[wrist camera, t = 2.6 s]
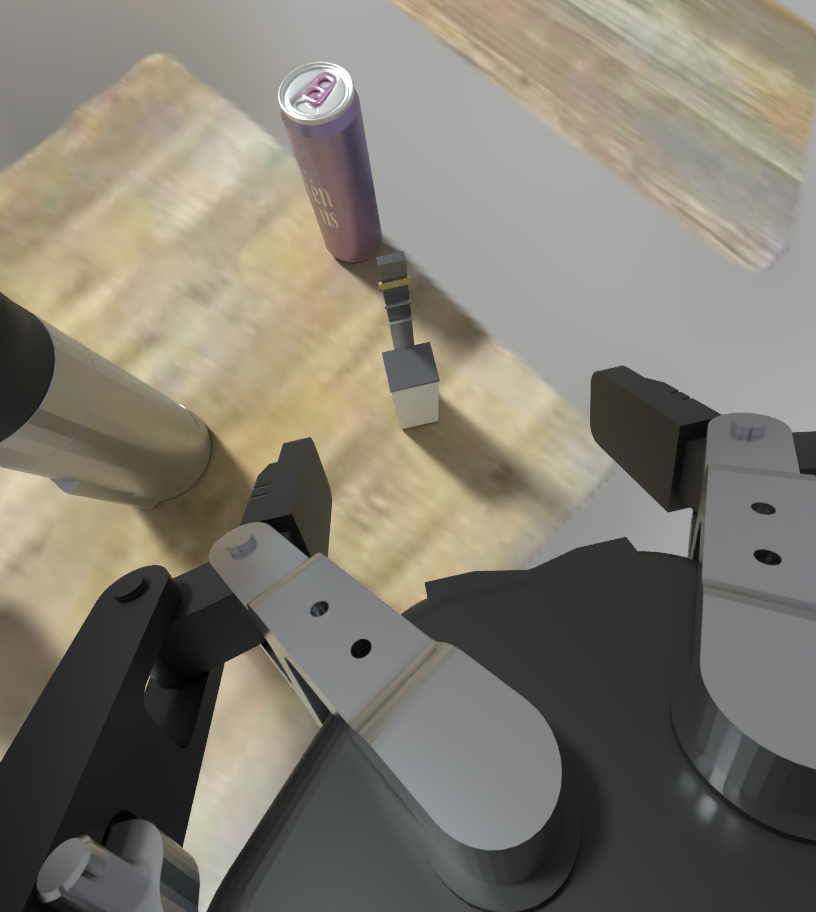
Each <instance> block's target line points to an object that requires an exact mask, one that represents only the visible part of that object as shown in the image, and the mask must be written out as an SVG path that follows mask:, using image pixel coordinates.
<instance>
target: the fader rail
mask: <svg viewBox="0 0 816 912" xmlns="http://www.w3.org/2000/svg"><path fill="white" fill-rule="evenodd" d="M376 259H377V264H378V269H379V274H380V279H381V282H379V283H378V284H379V289H380V291H382V290H383V294H384V299H385V304H386V305H384V306H385V309H387V314H388V319H389V321H388V325H390V329H391V335H392V340H393V345H394V350H396V349H400V348H405V347H409V346H413V345H414V338H413V328H412V320H413V316H411V309H410V303H412V302H411V299H409V290H408V284H411V276H410V275H409V276H407V270H406V261H405V256H404V252H403V251H401V252H396V253H392V254H388V255H383V256H379V257H376Z"/></svg>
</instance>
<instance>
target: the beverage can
mask: <svg viewBox="0 0 816 912" xmlns="http://www.w3.org/2000/svg"><path fill="white" fill-rule="evenodd" d="M278 100H279V104H280V107H281V117H282V121H283V124H284V127H285V129H286V132H287V135H288V138H289V141H290V144H291V147H292V150H293V152H294V155H295V158H296V161H297V164H298V167H299V170H300V172H301V175H302V178H303V181H304V184H305V187H306V190H307V193H308V195H309V198H310V201H311V204H312V207H313V210H314V213H315V215H316V218H317V221H318V224H319V227H320V230H321V233H322V236H323V238H324V241H325V244H326V247H327V249H328V250H329V252H330V253H331V254H332V255H333V256H335V257H336V258H338V259H340V260H342V261H346V262H359V261H362V260H365V259H367V258H368V257H370V256H371V255H372V254H373V253H374V252H375V251H376V249H377V248H378V246H379V244H380V241H381V236H382V233H381V227H380V221H379V215H378V209H377V203H376V197H375V191H374V186H373V179H372V173H371V167H370V161H369V155H368V150H367V143H366V137H365V131H364V125H363V120H362V114H361V107H360V101H359V96H358V94H357V92H356V90H355V87H354V82H353V80H352V77H351V76H350V74H349V73H348V72H347V71H346V70H345V69H344V68H342V67H341V66H338V65H336V64H333V63H329V62H313V63H309V64H305V65H303V66H300V67H299V68H297V69H295V70H293V71H292V72H291V73H289V74H288V75H287V76H286V77H285V79H284V80H283V82H282V83H281V85H280V88H279V92H278Z"/></svg>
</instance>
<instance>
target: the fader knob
mask: <svg viewBox="0 0 816 912" xmlns="http://www.w3.org/2000/svg"><path fill="white" fill-rule="evenodd" d="M382 355H383V360H384V364H385V369H386V373H387V378H388V382H389V387H390V391H391V392H392V396H393V400H394V404H395V407H396V411H397V415H398V419H399V422H400V426H401V429H405V428H410V427H414V426H418V425H423V424H427V423H432V422H436V421H438V388H439V376H438V372H437V368H436V364H435V360H434V356H433V353H432V349H431V345H430V342H427V343H422V344H418V345H413V346H409V347H405V348H400V349H396V350H392V351H387V352H383V353H382Z"/></svg>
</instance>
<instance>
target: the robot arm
mask: <svg viewBox="0 0 816 912" xmlns="http://www.w3.org/2000/svg"><path fill="white" fill-rule="evenodd" d="M590 427H591V432H592V435H593V437H594V439H595V441H596V443H597V444H598V445H599V446H600V447H601V448H602V449H603V450H604V451H605V452H606V453H607V454H608V455H609V456H610V457H611V458H613V459H614V460H615V461H616V462H617V463H618V464H619V465H620V466H621V467H622V468H623V469H624V470H625V471H626V472H627V473H628V474H629V475H630V476H631V477H632V478H633V479H634V480H635V481H636V482H637V483H638V484H639V485H640V486H641V487H642V488H643V489H645V491H647V493H648V494H650V495H651V496H652V497H653V498H654V499H655V500H656V501H657V502H658V503H659V504H660V505H661V506H662V507H663V508H664V509H665V510H666V511H667V512H672V511H676V510H681V509H685V508H692V509H693V513H692V518H691V527H690V536H689V547H688V557H687V558H686V557H682V556H677V555H673V554H667V553H660V552H646V551H637V550H636V549H635V548H634V546H633V545H632V544H631V543H630V542H629V540H628V539H627V538H626V537H623V538H619V539H615V540H610V541H606V542H602V543H597V544H593V545H589V546H584V547H579V548H576V549H574V550H572V551H569V552H567V553H565V554H563V555H561V556H558V557H556V558H554V559H552V560H550V561H548V562H546V563H544V564H541V565H539V566H537V567H535V568H532V569H529V570H508V571H473V572H469V573H464V574H460V575H455V576H451V577H447V578H442V579H438V580H433V581H429V582H425V587H426V592H427V599H424V600H422V601H420V602H419V603H417V604H415V605H414V606H412V607H410V608H409V609H407V610H406V611H405V612H403V613H402V614H401V615H400V614H399V613H397V612H396V611H395V610H394V609H392V608H391V607H390V606H389V605H387V604H386V603H385V602H383V601H382V600H381V599H380V598H378V597H377V596H376V595H374V594H373V593H372V592H371V591H369V590H368V589H367V588H365V587H364V586H363V585H362V584H360V583H359V582H358V581H357V580H355V579H354V578H353V577H351V576H350V575H349V574H348V573H346V572H345V571H344V570H342V569H341V568H340V567H339V566H337V565H336V564H335V563H334V562H332V561H331V560H330V559H328V546H329V534H330V522H331V510H332V496H331V491H330V486H329V483H328V480H327V477H326V475H325V472H324V469H323V466H322V464H321V461H320V458H319V455H318V453H317V450H316V447H315V445H314V442H313V440H312V439H311V438H310V437H309V438H304V439H300V440H296V441H291V442H287V443H284V444H283V446H282V449H281V453H280V456H279V459H278V462H276V463H271V464H269V465H268V466H267V467H266V468H265V469H264V470H263V471H262V472H261V473H260V474H259V475H258V478H257V481H256V483H255V486H254V489H253V491H252V494H251V499H250V500H249V502H248V505H247V508H246V510H245V513H244V516H243V519H242V521H241V524H240V526H239V527H237V528H234V529H233V530H231V531H229V532H228V533H226V534H225V535H223V536H222V537H221V538H220V539H219V540H218V541H217V542H216V543H215V544H214V545H213V546H212V548H211V550H210V552H209V556H208V559H209V562H208V563H206V564H204V565H202V566H200V567H198V568H195V569H193V570H191V571H189V572H186V573H184V574H182V575H180V576H177V577H175V578H172V577H171V575H170V574H169V573H168V571H167V570H166V568H164V567H162V566H159V565H152V566H146V567H142V568H139V569H137V570H134V571H132V572H130V573H128V574H126V575H125V576H123V577H121V578H120V579H118V580H117V581H116V582H114V583H113V584H112V585H111V586H109V587H108V588H107V589H106V590H105V591H104V592H103V593H102V595H101V596H100V597H99V599H98V600H97V602H96V603H95V605H94V607H93V608H92V610H91V612H90V613H89V615H88V617H87V618H86V620H85V622H84V623H83V625H82V627H81V628H80V630H79V632H78V633H77V635H76V637H75V638H74V640H73V642H72V644H71V645H70V647H69V649H68V650H67V652H66V654H65V655H64V657H63V659H62V660H61V662H60V664H59V665H58V667H57V669H56V670H55V672H54V674H53V675H52V677H51V679H50V680H49V682H48V684H47V685H46V687H45V689H44V690H43V692H42V694H41V695H40V697H39V699H38V700H37V702H36V704H35V705H34V707H33V709H32V710H31V712H30V714H29V715H28V717H27V719H26V720H25V722H24V724H23V725H22V727H21V729H20V731H19V732H18V734H17V736H16V737H15V739H14V741H13V742H12V744H11V746H10V747H9V749H8V751H7V752H6V754H5V756H4V757H3V759H2V761H1V762H0V912H198V902H199V889H200V878H199V871H198V867H197V864H196V862H195V860H194V858H193V857H192V856H191V855H190V854H189V853H188V852H187V851H186V850H184V849H183V843H184V839H185V834H186V830H187V826H188V821H189V817H190V813H191V808H192V804H193V799H194V795H195V791H196V786H197V782H198V778H199V773H200V769H201V764H202V760H203V756H204V751H205V747H206V743H207V738H208V734H209V730H210V725H211V721H212V716H213V712H214V708H215V703H216V699H217V695H218V690H219V686H220V681H221V677H222V673H223V668H224V663H225V662H227V661H229V660H231V659H232V658H234V657H236V656H238V655H240V654H242V653H244V652H246V651H248V650H250V649H252V648H254V647H256V646H258V645H260V646H261V648H262V649H263V650H264V652H265V653H266V654H267V656H268V657H269V658H270V660H271V661H272V662H273V664H274V665H275V666H276V667H277V669H278V670H279V671H280V673H281V674H282V675H283V677H284V678H285V679H286V681H287V682H288V683H289V684H290V686H291V687H292V688H293V690H294V691H295V692H296V694H297V695H298V696H299V698H300V699H301V700H302V702H303V703H304V705H305V706H306V708H307V709H308V711H309V712H310V714H311V715H312V717H313V718H314V720H315V721H316V723H317V724H318V725H319V727H320V730H319V731H318V733H317V735H316V736H315V738H314V739H313V741H312V742H311V744H310V745H309V747H308V748H307V750H306V752H305V753H304V755H303V756H302V758H301V759H300V761H299V762H298V764H297V765H296V767H295V769H294V770H293V772H292V773H291V775H290V776H289V778H288V779H287V781H286V782H285V784H284V786H283V787H282V789H281V790H280V792H279V793H278V795H277V796H276V798H275V799H274V801H273V803H272V804H271V806H270V807H269V809H268V810H267V812H266V813H265V815H264V816H263V818H262V820H261V821H260V823H259V824H258V826H257V827H256V829H255V830H254V832H253V833H252V835H251V837H250V838H249V840H248V841H247V843H246V844H245V846H244V847H243V849H242V850H241V852H240V854H239V855H238V857H237V858H236V860H235V861H234V863H233V864H232V866H231V867H230V869H229V871H228V872H227V874H226V876H225V877H224V879H223V881H222V882H221V884H220V886H219V888H218V889H217V891H216V893H215V895H214V897H213V899H212V901H211V903H210V905H209V908H208V910H207V912H816V431H814V432H794V433H792V431H791V429H790V427H789V426H788V425H786V424H785V423H784V422H781V421H780V420H778V419H775V418H772V417H769V416H765V415H760V414H753V413H730V414H724V415H721V414H719V413H718V412H716V411H714V410H712V409H711V408H709V407H707V406H705V405H703V404H702V403H700V402H698V401H696V400H695V399H693V398H692V399H690V397H689V396H687V395H686V394H684V393H682V392H678V390H677V389H675V388H673V387H671V386H670V385H668V384H666V383H664V382H660V381H656V380H652V379H648V378H644V377H643V376H641V375H639V374H637V373H636V372H634V371H632V370H631V369H629V368H627V367H626V366H619V367H614V368H610V369H606V370H601V371H597V372H594V374H593V375H592V378H591V405H590ZM210 451H211V441H210V436H209V433H208V429H207V428H206V426H205V424H204V423H203V421H202V420H201V419H200V418H199V417H198V416H197V415H195V414H194V413H192V412H191V411H189V410H188V409H187V408H185V407H184V406H182V405H181V404H179V403H177V402H175V401H173V400H172V399H170V398H169V397H167V396H165V395H164V394H162V393H160V392H159V391H157V390H156V389H154V388H152V387H151V386H149V385H148V384H146V383H144V382H143V381H141V380H139V379H138V378H136V377H135V376H133V375H131V374H130V373H128V372H127V371H125V370H123V369H122V368H120V367H118V366H117V365H115V364H114V363H112V362H110V361H109V360H107V359H105V358H104V357H102V356H101V355H99V354H97V353H96V352H94V351H93V350H91V349H89V348H88V347H86V346H84V345H83V344H81V343H80V342H78V341H76V340H75V339H73V338H71V337H70V336H68V335H67V334H65V333H63V332H62V331H60V330H59V329H57V328H55V327H54V326H52V325H50V324H49V323H47V322H46V321H44V320H42V319H41V318H39V317H38V316H36V315H34V314H32V313H31V312H29V311H28V310H26V309H24V308H23V307H21V306H19V305H18V304H16V303H14V302H13V301H11V300H10V299H9V298H7V297H6V296H5V295H4V294H2V293H1V292H0V467H3V468H7V469H12V470H16V471H21V472H26V473H30V474H35V475H39V476H44V477H48V478H50V479H51V480H52V481H53V482H54V483H55V484H56V485H57V486H58V487H59V488H60V489H61V490H63V491H64V492H66V493H68V494H71V495H77V496H82V497H87V498H93V499H98V500H103V501H109V502H114V503H119V504H124V505H130V506H135V507H140V508H146V509H153V508H154V507H155V506H156V505H157V504H158V503H159V502H161V501H163V500H166V499H170V498H173V497H176V496H178V495H180V494H182V493H184V492H185V491H187V490H188V489H189V488H190V487H192V486H193V485H194V484H195V483H196V482H197V480H198V479H199V478H200V477H201V475H202V474H203V472H204V470H205V469H206V466H207V464H208V461H209V458H210ZM149 675H150V679H149V682H148V685H147V687H146V690H145V686H146V683H147V680H148V678H149ZM144 690H145V692H144Z"/></svg>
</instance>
